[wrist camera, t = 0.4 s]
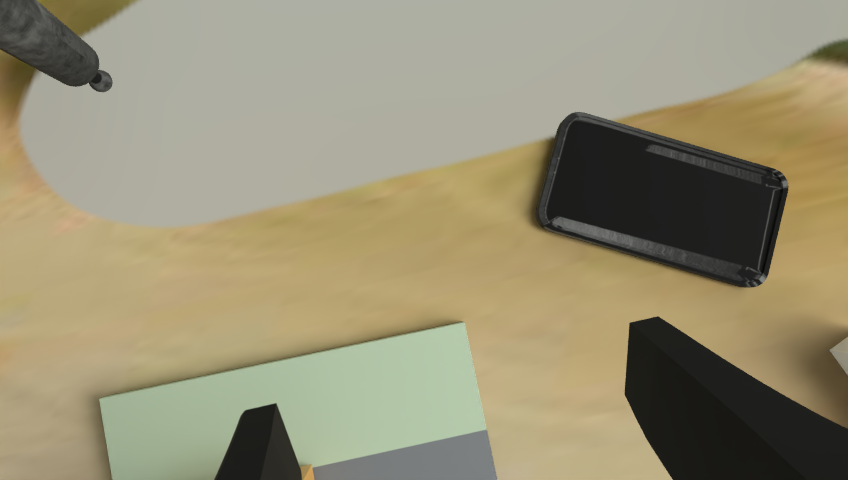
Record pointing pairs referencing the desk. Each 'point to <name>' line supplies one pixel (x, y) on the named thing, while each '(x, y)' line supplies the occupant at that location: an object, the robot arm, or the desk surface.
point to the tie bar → (307, 472)
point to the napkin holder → (841, 354)
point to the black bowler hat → (49, 45)
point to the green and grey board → (318, 414)
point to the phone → (662, 200)
